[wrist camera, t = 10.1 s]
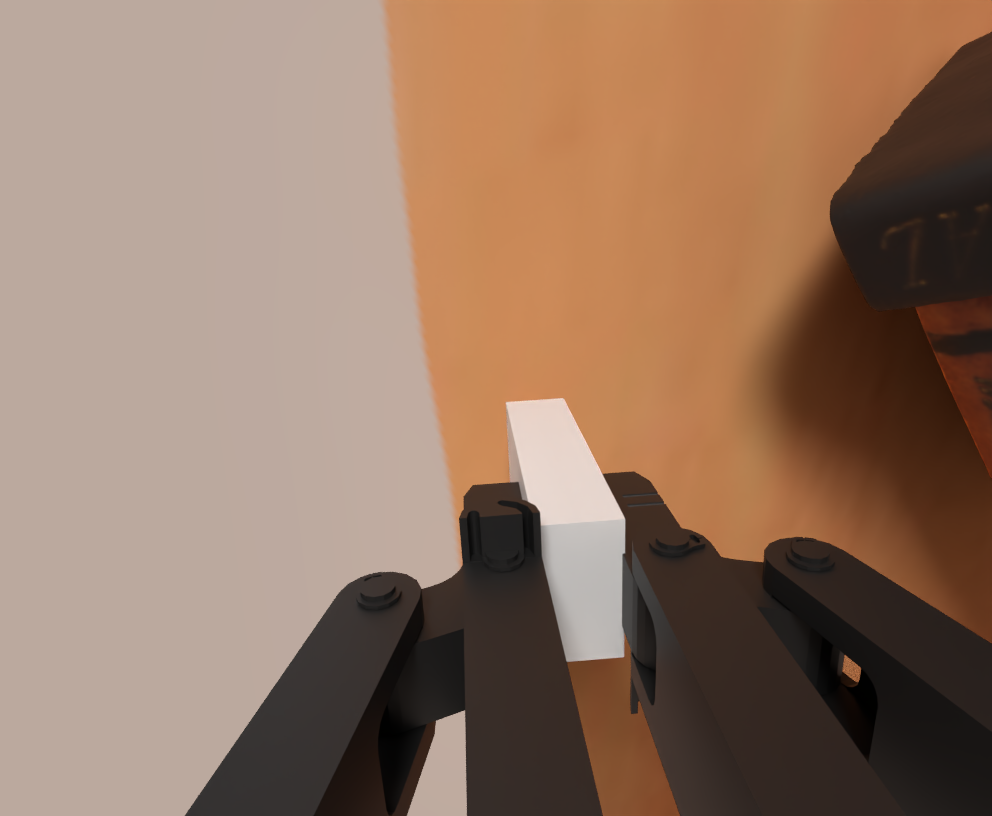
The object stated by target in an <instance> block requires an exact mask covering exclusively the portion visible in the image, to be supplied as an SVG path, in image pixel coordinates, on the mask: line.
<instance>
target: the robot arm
mask: <svg viewBox="0 0 992 816" xmlns="http://www.w3.org/2000/svg"><path fill="white" fill-rule="evenodd" d="M506 414H507V433H508V452H509V470H510V483H497V484H483V485H473V486H472V487H471V488H470V490H469V491H468V492H467V493H466V494H465V496H464V510H463V511H462V513H461V515H460V518H459V523H460V535H461V547H462V559H463V566H462V567H461V569H460V570H459V571H458V572H457V573H456V574H455V575H454V576H453V577H452V578H449V579H448V580H446V581H444V582H442V583H440V584H437V585H434V586H431V587H428V588H424V589H421V587H420V585H419V584H418V582H417V580H415V579H413V578H412V577H410V576H408V575H407V574H402V573H396V572H378V573H373V574H369V575H366V576H363V577H360V578H359V579H357V580H355V581H353V582H351V583H349V584H348V585H347V586H346V587H345V588H344V589H343V590H341V592H340V593H339V594H338V595H337V596H336V598H335V599H334V601H333V602H332V604H331V605H330V607H329V608H328V609H327V611H326V613H325V614H324V615H323V617H322V618H321V620H320V621H319V622H318V624H317V625H316V627H315V628H314V630H313V631H312V633H311V634H310V636H309V637H308V638H307V640H306V641H305V643H304V644H303V646H302V647H301V649H300V650H299V651H298V653H297V654H296V656H295V657H294V659H293V660H292V662H291V663H290V664H289V666H288V667H287V669H286V670H285V672H284V673H283V674H282V676H281V678H280V679H279V680H278V682H277V683H276V685H275V686H274V688H273V689H272V690H271V692H270V693H269V695H268V696H267V698H266V699H265V701H264V702H263V704H262V705H261V706H260V708H259V709H258V711H257V712H256V714H255V715H254V717H253V718H252V719H251V721H250V722H249V724H248V725H247V727H246V728H245V729H244V731H243V732H242V734H241V735H240V737H239V738H238V740H237V741H236V742H235V744H234V746H233V747H232V748H231V750H230V751H229V753H228V754H227V755H226V757H225V759H224V760H223V761H222V763H221V764H220V766H219V767H218V769H217V770H216V771H215V773H214V774H213V776H212V777H211V779H210V780H209V782H208V783H207V784H206V786H205V787H204V789H203V790H202V792H201V793H200V795H199V796H198V797H197V799H196V800H195V802H194V803H193V805H192V806H191V808H190V809H189V810H188V812H187V813H186V815H185V816H407V813H408V810H409V808H410V805H411V802H412V799H413V796H414V793H415V790H416V787H417V784H418V781H419V778H420V775H421V772H422V769H423V766H424V763H425V761H426V758H427V755H428V752H429V749H430V746H431V743H432V740H433V737H434V734H435V724H436V720H439V719H442V718H444V717H447V716H450V715H453V714H456V713H458V712H461V711H464V710H465V718H466V719H465V722H466V780H467V816H603V815H602V810H601V806H600V802H599V798H598V793H597V789H596V785H595V781H594V776H593V772H592V768H591V763H590V759H589V755H588V751H587V746H586V742H585V738H584V734H583V729H582V725H581V721H580V717H579V712H578V708H577V704H576V700H575V695H574V691H573V687H572V683H571V678H570V674H569V670H568V665H567V662H573V661H585V660H596V659H608V658H620V657H624V632H625V635H626V637H627V640H628V643H629V645H630V648H631V693H630V705H631V714H636V713H638V701H639V700H640V703H641V706H642V708H643V711H644V714H645V717H646V720H647V723H648V725H649V728H650V731H651V734H652V737H653V740H654V742H655V745H656V748H657V751H658V754H659V757H660V759H661V762H662V765H663V768H664V771H665V774H666V776H667V779H668V782H669V785H670V788H671V791H672V793H673V796H674V799H675V802H676V805H677V808H678V810H679V813H680V816H992V644H991V643H990V642H988V641H986V640H985V639H983V638H982V637H980V636H978V635H977V634H975V633H974V632H972V631H971V630H969V629H967V628H966V627H964V626H963V625H961V624H959V623H958V622H956V621H955V620H953V619H951V618H950V617H948V616H947V615H945V614H944V613H942V612H940V611H939V610H937V609H936V608H934V607H932V606H931V605H929V604H928V603H926V602H925V601H923V600H921V599H920V598H918V597H917V596H915V595H913V594H912V593H910V592H909V591H907V590H905V589H904V588H902V587H901V586H899V585H898V584H896V583H894V582H893V581H891V580H890V579H888V578H886V577H885V576H883V575H882V574H880V573H879V572H877V571H875V570H874V569H872V568H871V567H869V566H867V565H866V564H864V563H863V562H861V561H859V560H858V559H856V558H855V557H853V556H852V555H850V554H848V553H847V552H845V551H844V550H842V549H839V548H837V547H835V546H833V545H831V544H829V543H825V542H822V541H818V540H816V539H813V538H806V537H805V538H803V537H794V538H785V539H779V540H777V541H774V542H772V543H770V544H769V545H768V546H767V548H766V549H765V551H764V563H763V562H753V561H743V560H735V559H729V558H723V557H721V556H720V555H719V553H718V552H717V551H716V549H715V548H714V546H713V545H712V544H711V542H709V541H708V540H707V539H706V538H705V537H704V536H702V535H700V534H698V533H696V532H693V531H691V530H687V529H683V528H681V527H680V525H679V524H678V522H677V521H676V519H675V518H674V516H673V515H672V513H671V512H670V510H669V509H668V507H667V506H666V504H664V501H663V500H662V498H661V497H660V495H658V492H657V491H656V489H655V488H654V486H653V485H652V483H651V482H650V481H649V480H648V479H646V478H644V477H642V476H641V475H639V474H637V473H635V472H621V473H608V474H602V473H601V471H600V469H599V467H598V465H597V463H596V461H595V459H594V457H593V455H592V453H591V451H590V449H589V447H588V445H587V443H586V441H585V439H584V437H583V435H582V433H581V432H580V430H579V428H578V426H577V424H576V422H575V420H574V418H573V416H572V414H571V412H570V410H569V408H568V406H567V404H566V402H565V400H564V398H559V399H545V400H530V401H516V402H506ZM844 655H846V656H847V657H849V658H850V659H851V660H852V661H854V662H855V663H856V664H857V665H858V666H860V667H861V674H860V680H859V682H858V683H857V682H855V681H854V680H852V679H851V678H849V677H848V676H847V675H846V674H845V673H844V672H842V669H843V662H844Z"/></svg>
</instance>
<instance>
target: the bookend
mask: <svg viewBox="0 0 992 816" xmlns="http://www.w3.org/2000/svg"><path fill="white" fill-rule="evenodd" d="M830 221H831V224H832V227H833V231H834V233H835V236H836V239H837V241H838V244H839V246H840V248H841V250H842V253H843V255H844V257H845V259H846V262H847V264H848V266H849V268H850V270H851V272H852V274H853V276H854V279H855V281H856V283H857V285H858V287H859V289H860V291H861V292H862V294H863V296H864V298H865V300H866V301H867V303H868V304H869V306H871V308H873V309H875V310H877V311H886V310H895V309H905V308H909V307H915V308H916V310H917V313H918V316H919V319H920V321H921V324H922V326H923V329H924V332H925V333H926V336H927V338H928V341H929V343H930V346H931V348H932V350H933V352H934V354H935V356H936V359H937V361H938V363H939V365H940V367H941V370H942V372H943V375H944V378H945V380H946V382H947V384H948V386H949V389H950V391H951V393H952V395H953V397H954V399H955V401H956V404H957V406H958V408H959V410H960V412H961V415H962V417H963V419H964V420H965V422H966V425H967V427H968V429H969V431H970V434H971V436H972V438H973V440H974V442H975V445H976V447H977V449H978V451H979V453H980V456H981V458H982V459H983V461H984V464H985V466H986V468H987V471H988V473H989V475H990V477H991V479H992V32H990V33H988V34H986V35H985V36H983V37H980V38H978V39H976V40H974V41H972V42H969V43H968V44H966V45H964V46H962V47H961V48H960V49H959V50H958V51H957V52H956V53H955V55H954V56H953V57H952V58H951V59H950V60H949V61H948V62H947V63H946V64H945V66H944V67H943V68H942V69H941V70H940V71H939V72H938V73H937V74H936V76H935V77H934V78H933V79H932V80H931V81H930V82H929V83H928V84H927V85H926V86H925V87H924V89H923V90H922V91H921V92H920V93H919V94H918V95H917V96H916V97H915V98H914V99H913V100H912V101H911V102H910V104H909V105H908V106H907V107H906V109H905V110H904V111H903V112H902V113H901V115H900V116H899V118H898V119H896V120H895V121H894V124H893V125H892V126H891V127H890V129H889V131H888V132H887V133H886V134H885V135H884V136H882V137H880V139H879V141H878V142H877V143H875V145H874V146H873V148H872V150H871V152H870V153H869V154H867V155H866V156H864V157H863V158H862V159H861V160H860V162H858V163H857V164H856V165H855V169H854V170H853V173H852V174H851V175H850V176H849V177H848V179H847V180H846V182H845V183H843V185H842V186H841V187H840V189H839V190H837V191H836V192H835V193H834V195H833V198H832V200H831V205H830Z"/></svg>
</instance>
